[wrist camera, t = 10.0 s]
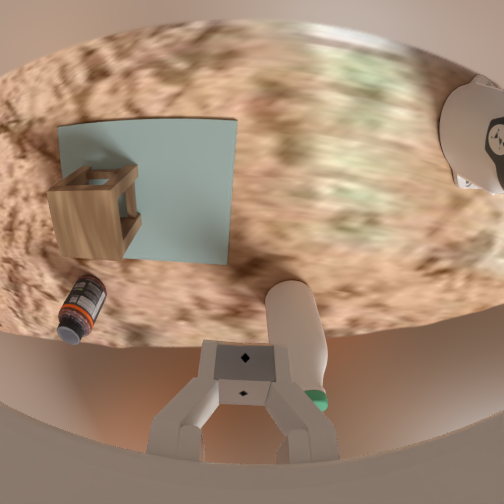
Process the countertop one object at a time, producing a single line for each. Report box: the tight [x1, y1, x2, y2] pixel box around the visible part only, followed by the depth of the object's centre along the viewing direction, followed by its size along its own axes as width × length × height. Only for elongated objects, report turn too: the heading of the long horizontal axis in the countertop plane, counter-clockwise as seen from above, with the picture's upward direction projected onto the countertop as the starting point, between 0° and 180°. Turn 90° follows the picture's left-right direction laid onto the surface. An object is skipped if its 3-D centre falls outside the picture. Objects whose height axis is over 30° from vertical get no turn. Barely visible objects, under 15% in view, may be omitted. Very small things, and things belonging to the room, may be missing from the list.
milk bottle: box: [265, 280, 328, 412], centre depth 38 cm, size 8×8×20 cm
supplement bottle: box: [57, 276, 107, 345], centre depth 39 cm, size 6×6×11 cm
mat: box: [58, 118, 237, 265], centre depth 35 cm, size 24×20×1 cm
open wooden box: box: [46, 165, 142, 261], centre depth 31 cm, size 9×8×8 cm
